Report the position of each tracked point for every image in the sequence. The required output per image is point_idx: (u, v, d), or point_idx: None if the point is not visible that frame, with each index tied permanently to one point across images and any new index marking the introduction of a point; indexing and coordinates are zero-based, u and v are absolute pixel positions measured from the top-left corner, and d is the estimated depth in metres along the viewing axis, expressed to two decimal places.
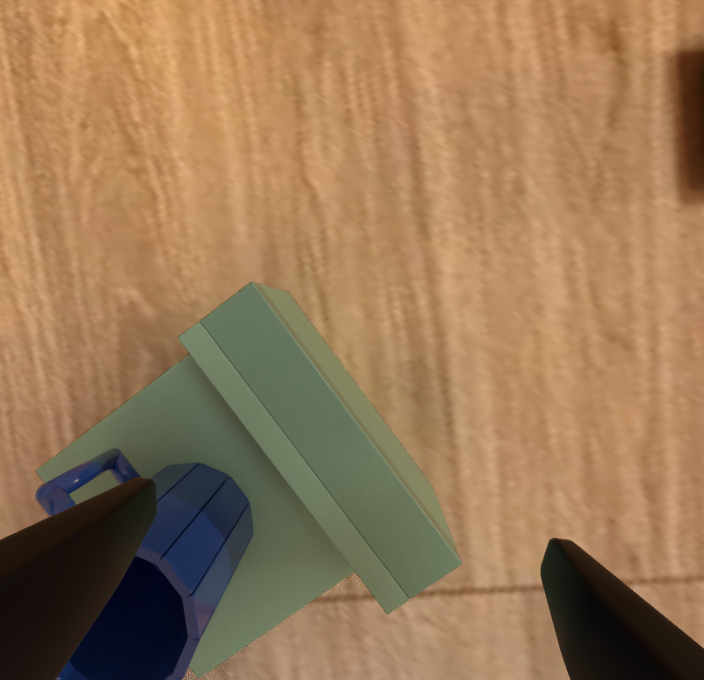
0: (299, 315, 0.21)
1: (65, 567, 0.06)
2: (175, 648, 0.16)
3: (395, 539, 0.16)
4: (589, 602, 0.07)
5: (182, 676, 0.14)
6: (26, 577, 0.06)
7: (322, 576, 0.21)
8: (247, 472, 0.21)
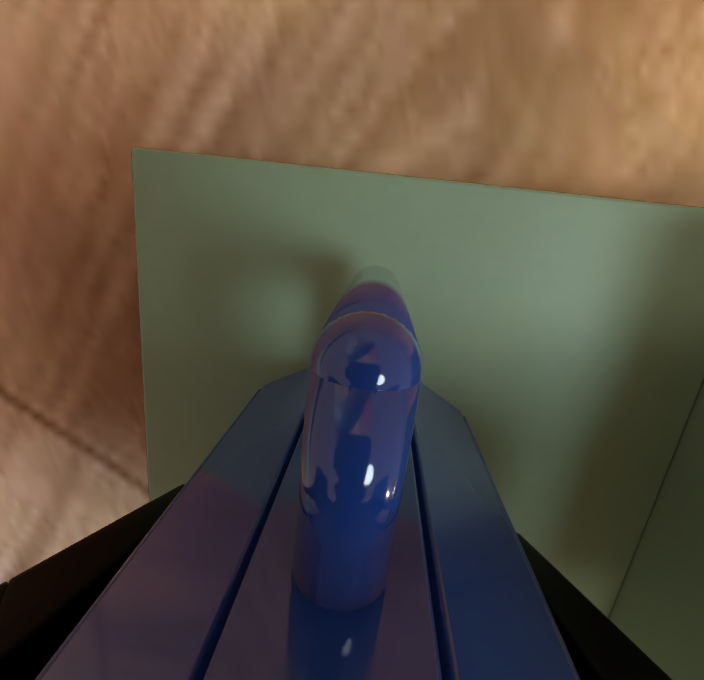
0: None
1: None
2: None
3: None
4: None
5: None
6: (95, 588, 0.06)
7: None
8: (518, 492, 0.10)
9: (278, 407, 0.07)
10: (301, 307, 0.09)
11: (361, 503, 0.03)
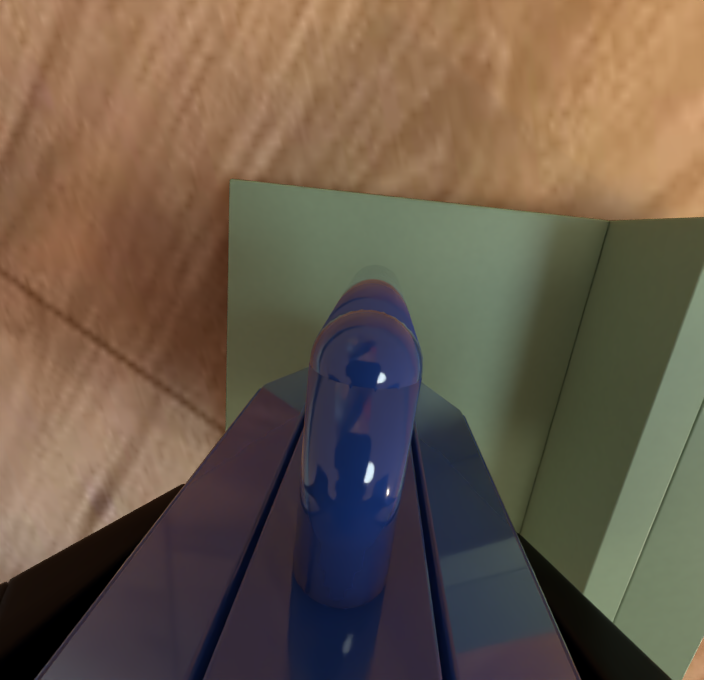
0: None
1: None
2: None
3: (645, 637, 0.12)
4: None
5: None
6: (95, 588, 0.06)
7: None
8: (469, 399, 0.15)
9: (278, 406, 0.07)
10: (331, 277, 0.14)
11: (361, 499, 0.03)
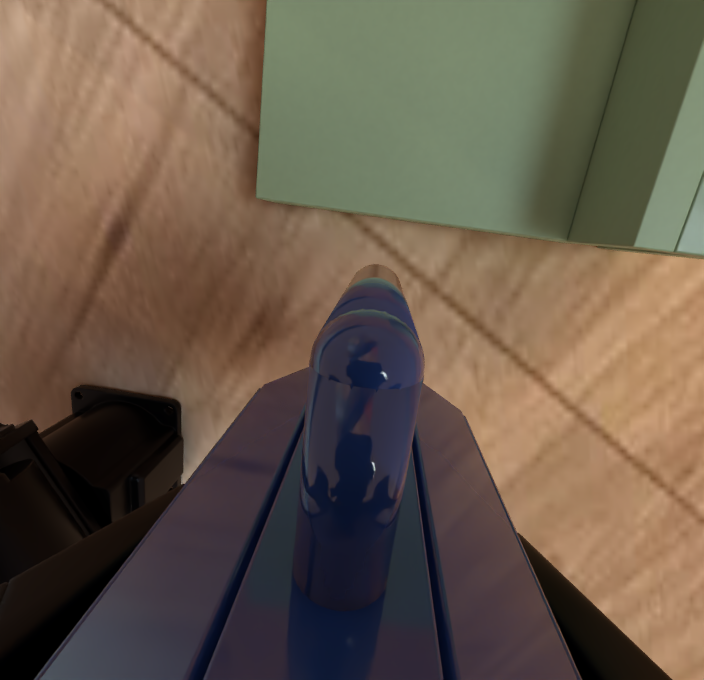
0: None
1: None
2: None
3: None
4: None
5: None
6: (95, 588, 0.06)
7: (486, 207, 0.15)
8: None
9: (278, 406, 0.07)
10: None
11: (362, 502, 0.03)
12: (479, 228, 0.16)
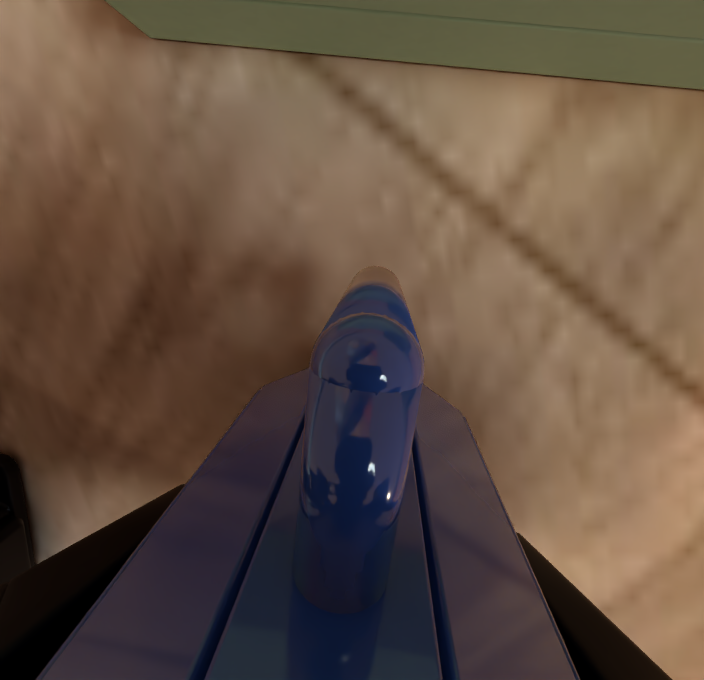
0: None
1: None
2: None
3: None
4: None
5: None
6: (95, 588, 0.06)
7: None
8: None
9: (278, 408, 0.07)
10: None
11: (361, 505, 0.03)
12: None
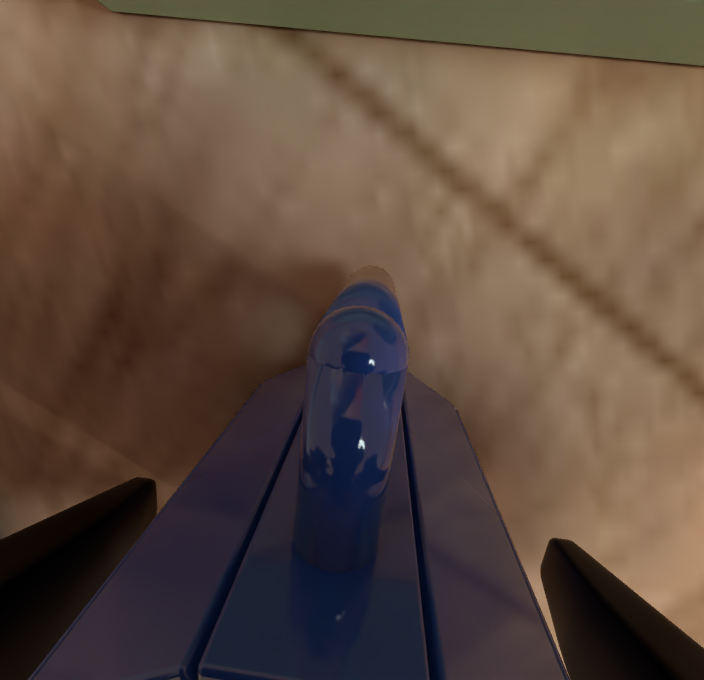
0: None
1: (65, 567, 0.06)
2: None
3: None
4: (589, 602, 0.07)
5: None
6: (26, 577, 0.06)
7: None
8: None
9: (279, 399, 0.08)
10: None
11: (354, 472, 0.03)
12: None
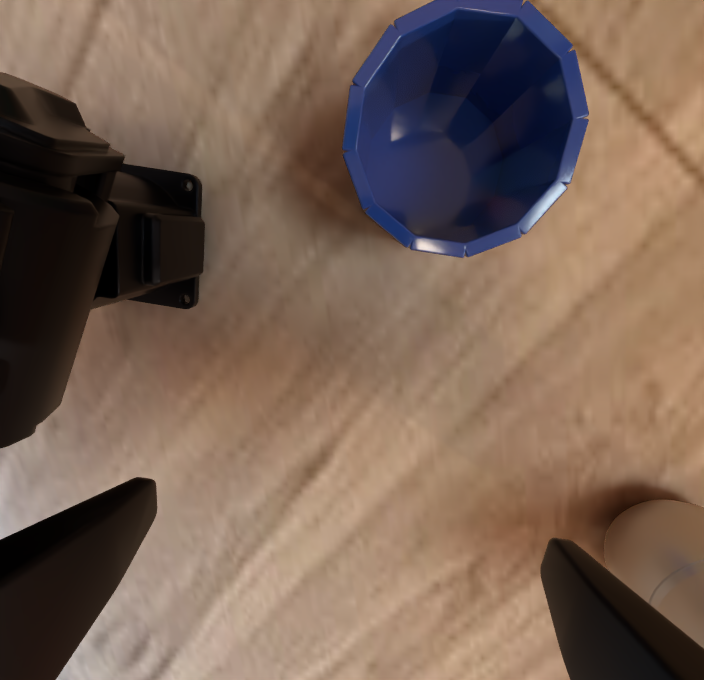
0: None
1: (65, 567, 0.06)
2: None
3: None
4: (589, 602, 0.07)
5: (472, 254, 0.12)
6: (26, 577, 0.06)
7: None
8: None
9: None
10: None
11: None
12: None
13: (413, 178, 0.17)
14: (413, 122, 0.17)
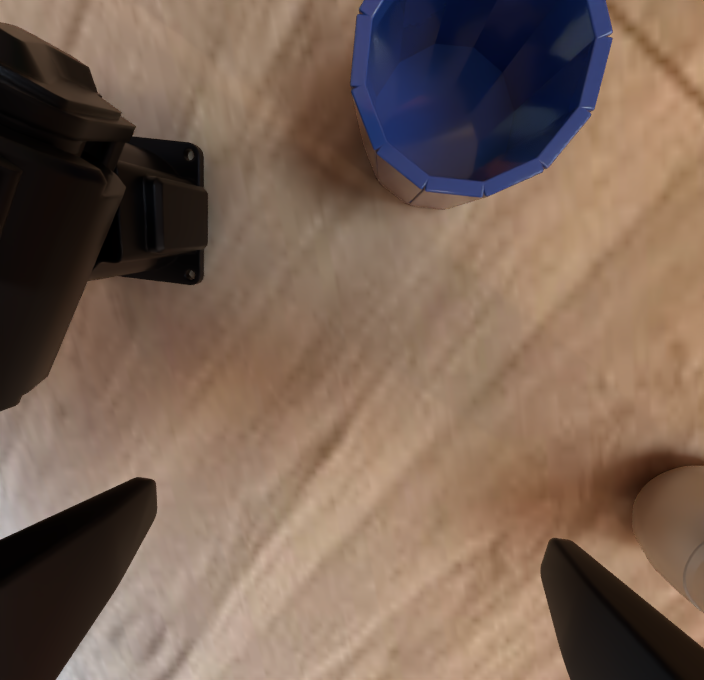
0: None
1: (65, 567, 0.06)
2: None
3: None
4: (589, 602, 0.07)
5: (491, 192, 0.11)
6: (26, 577, 0.06)
7: None
8: None
9: None
10: None
11: None
12: None
13: (421, 136, 0.17)
14: (419, 76, 0.16)
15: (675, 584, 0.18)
